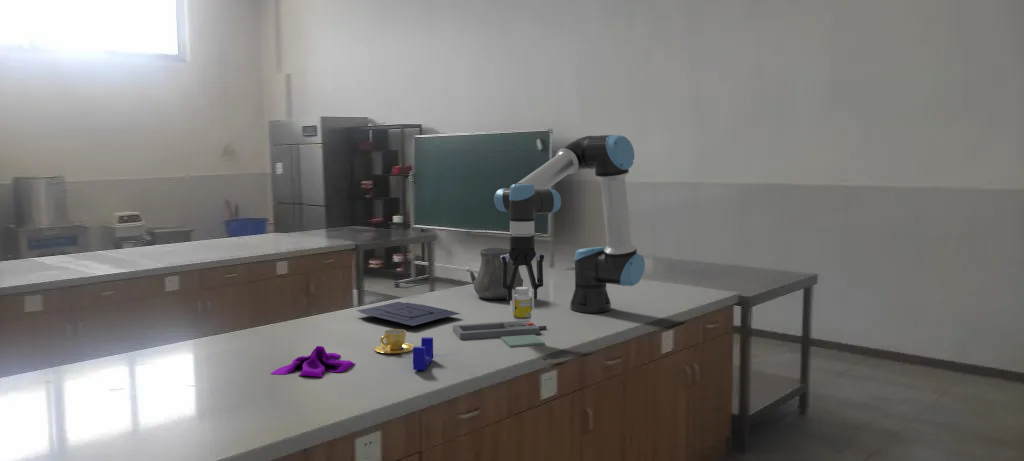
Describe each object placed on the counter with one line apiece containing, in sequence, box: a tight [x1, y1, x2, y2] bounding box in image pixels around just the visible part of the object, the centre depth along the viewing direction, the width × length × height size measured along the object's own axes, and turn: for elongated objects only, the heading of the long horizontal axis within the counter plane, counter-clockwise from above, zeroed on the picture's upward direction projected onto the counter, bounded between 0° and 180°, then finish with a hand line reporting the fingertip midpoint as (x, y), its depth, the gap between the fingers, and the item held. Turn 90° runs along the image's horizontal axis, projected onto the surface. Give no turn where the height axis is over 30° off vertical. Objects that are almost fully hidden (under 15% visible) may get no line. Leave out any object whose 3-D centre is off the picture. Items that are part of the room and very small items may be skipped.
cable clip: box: [412, 336, 434, 371], centre depth 204 cm, size 12×4×6 cm, turn 175°
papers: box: [356, 301, 462, 327], centre depth 260 cm, size 24×30×4 cm
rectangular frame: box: [452, 320, 547, 340], centre depth 240 cm, size 30×12×3 cm, turn 105°
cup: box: [374, 328, 415, 354], centre depth 220 cm, size 12×12×5 cm
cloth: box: [270, 345, 356, 378], centre depth 202 cm, size 22×19×6 cm
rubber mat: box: [500, 334, 546, 348], centre depth 228 cm, size 11×11×1 cm
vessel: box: [469, 247, 524, 301], centre depth 298 cm, size 22×22×20 cm
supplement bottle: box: [512, 286, 532, 321], centre depth 227 cm, size 5×5×10 cm
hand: (522, 310), depth 227 cm, fingers closed on supplement bottle, 5 cm apart
